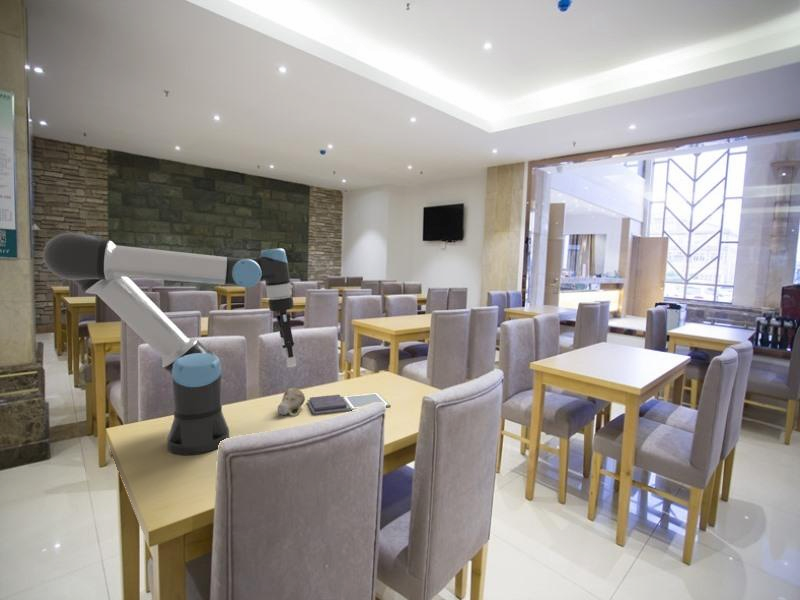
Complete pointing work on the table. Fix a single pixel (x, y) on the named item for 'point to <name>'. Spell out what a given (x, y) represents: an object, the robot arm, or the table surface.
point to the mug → (291, 402)
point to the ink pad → (327, 404)
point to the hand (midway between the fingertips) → (289, 361)
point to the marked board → (363, 400)
